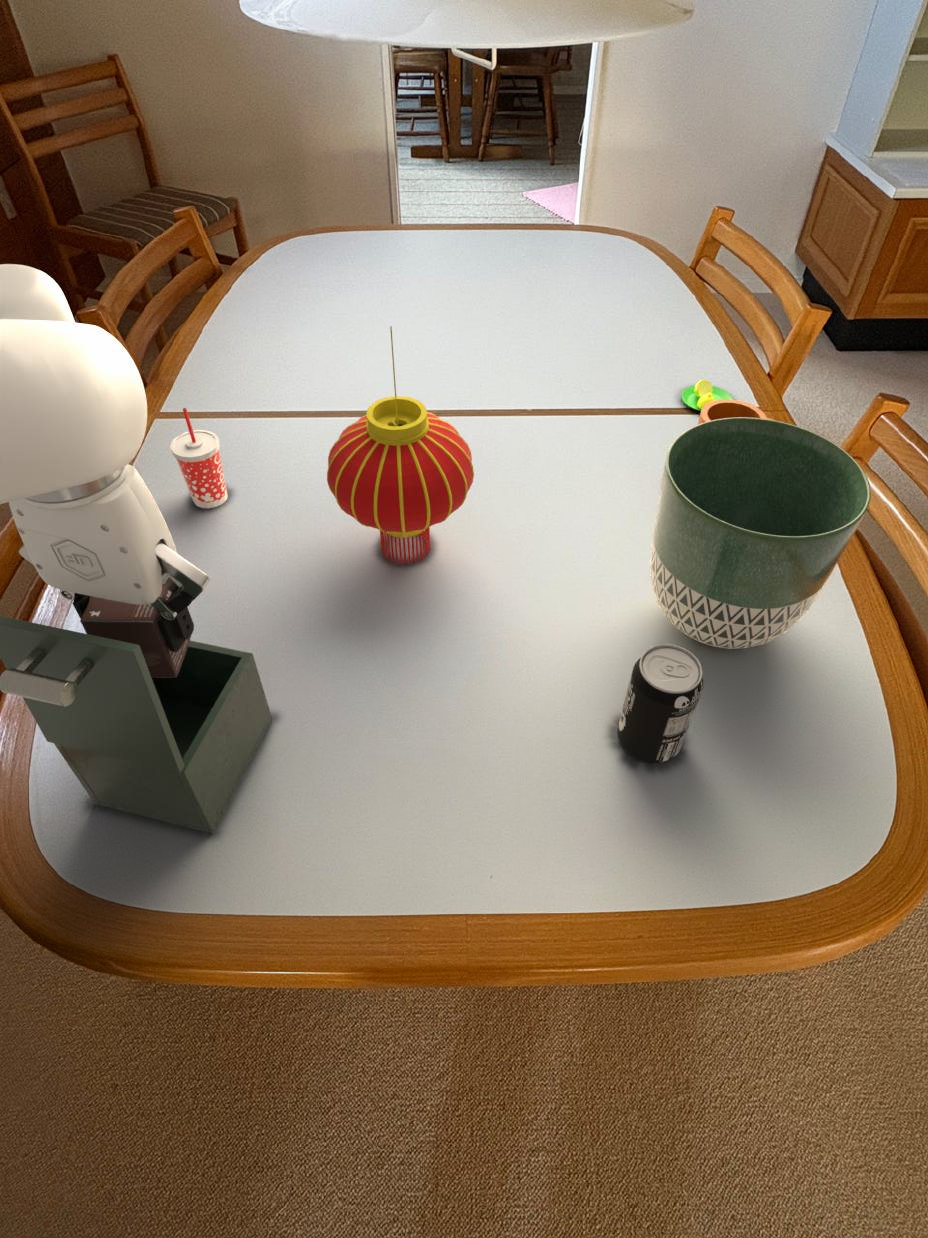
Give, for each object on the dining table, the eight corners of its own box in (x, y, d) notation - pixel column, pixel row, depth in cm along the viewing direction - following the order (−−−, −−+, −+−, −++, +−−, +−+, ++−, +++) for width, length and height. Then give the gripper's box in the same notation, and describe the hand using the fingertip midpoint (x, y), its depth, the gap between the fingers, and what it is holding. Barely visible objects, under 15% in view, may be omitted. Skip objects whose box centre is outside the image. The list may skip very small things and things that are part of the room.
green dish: (670, 394, 126) (674, 379, 124) (711, 383, 128) (715, 368, 126) (700, 420, 121) (705, 404, 119) (742, 408, 123) (747, 392, 121)
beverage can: (616, 711, 84) (634, 636, 75) (678, 718, 83) (705, 644, 74) (615, 763, 79) (635, 691, 70) (681, 771, 79) (710, 699, 70)
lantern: (486, 517, 105) (493, 299, 83) (450, 607, 94) (447, 382, 72) (367, 495, 108) (343, 279, 86) (318, 580, 97) (276, 356, 75)
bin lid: (-14, 612, 58) (-61, 657, 55) (139, 644, 56) (100, 693, 53) (52, 734, 68) (16, 779, 65) (184, 766, 66) (155, 814, 63)
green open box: (164, 695, 85) (134, 628, 77) (272, 719, 83) (252, 653, 75) (94, 804, 76) (51, 741, 68) (213, 834, 74) (184, 772, 66)
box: (177, 680, 67) (153, 623, 62) (107, 679, 67) (77, 621, 62) (195, 628, 72) (173, 569, 66) (129, 627, 72) (102, 568, 66)
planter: (673, 543, 102) (713, 397, 86) (822, 606, 94) (895, 458, 79) (601, 634, 91) (631, 486, 75) (763, 714, 83) (834, 567, 68)
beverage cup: (218, 516, 105) (192, 426, 95) (179, 506, 107) (149, 417, 96) (241, 489, 109) (219, 400, 99) (203, 480, 111) (176, 392, 100)
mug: (774, 497, 108) (794, 442, 102) (685, 485, 110) (700, 430, 104) (771, 459, 114) (790, 405, 108) (687, 448, 116) (701, 394, 109)
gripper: (-81, 471, 53) (26, 644, 66) (151, 513, 50) (215, 684, 63) (-10, 412, 58) (77, 583, 71) (205, 446, 55) (254, 618, 68)
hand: (141, 629), depth 67 cm, fingers closed on box, 6 cm apart
